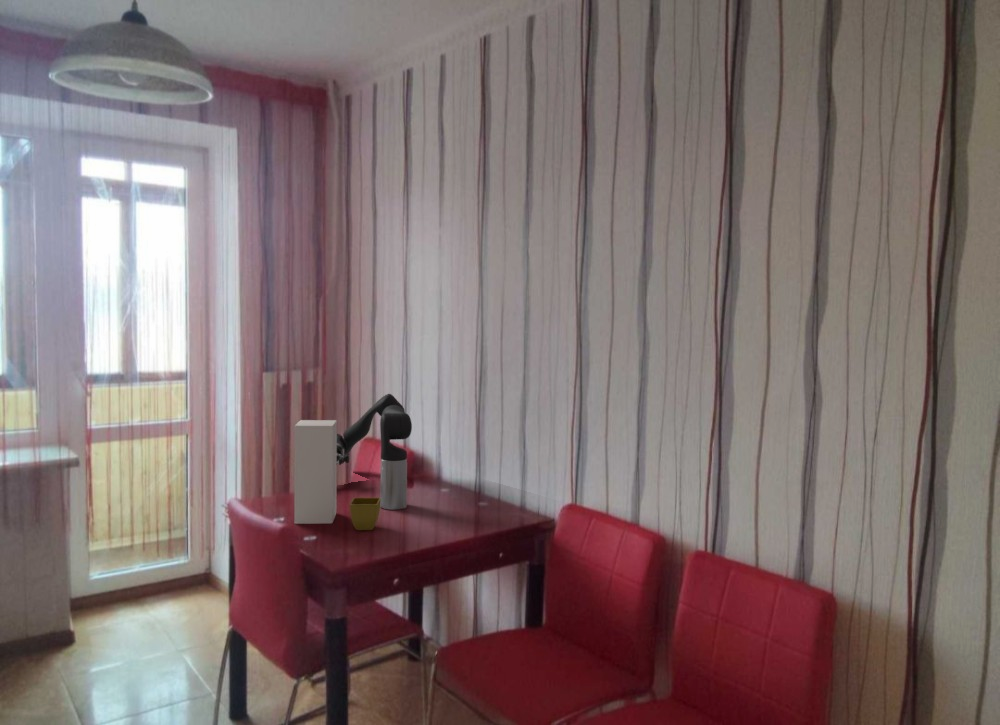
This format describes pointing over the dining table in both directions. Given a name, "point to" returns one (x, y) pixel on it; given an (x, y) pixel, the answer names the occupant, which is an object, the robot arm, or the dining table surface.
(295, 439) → the off-white column
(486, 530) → the dining table surface
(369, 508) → the flower pot
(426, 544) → the dining table surface
